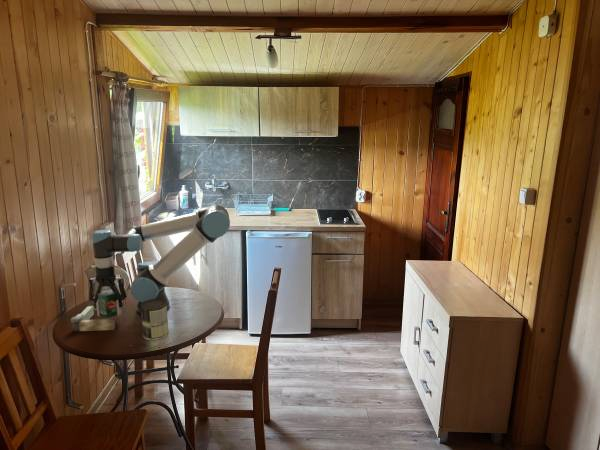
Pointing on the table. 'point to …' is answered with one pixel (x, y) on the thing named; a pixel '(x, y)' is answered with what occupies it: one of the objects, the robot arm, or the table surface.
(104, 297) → the canned tomato
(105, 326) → the tongs fixed arm
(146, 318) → the coffee can
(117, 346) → the table surface
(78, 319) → the tongs jaw
